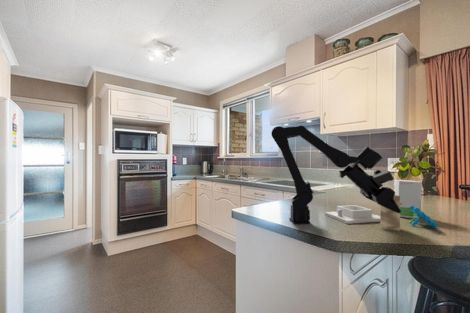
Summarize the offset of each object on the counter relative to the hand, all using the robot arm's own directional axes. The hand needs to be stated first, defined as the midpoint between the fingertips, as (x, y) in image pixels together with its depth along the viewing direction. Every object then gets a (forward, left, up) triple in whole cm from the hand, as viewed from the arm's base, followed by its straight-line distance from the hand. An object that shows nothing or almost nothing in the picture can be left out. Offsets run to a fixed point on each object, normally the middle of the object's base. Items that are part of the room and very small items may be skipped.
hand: (394, 209), depth 82 cm
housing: (-6, +14, -7) cm, 17 cm away
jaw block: (-1, 0, -7) cm, 7 cm away
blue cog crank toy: (+12, +2, -7) cm, 14 cm away
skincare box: (+19, +15, -7) cm, 25 cm away
